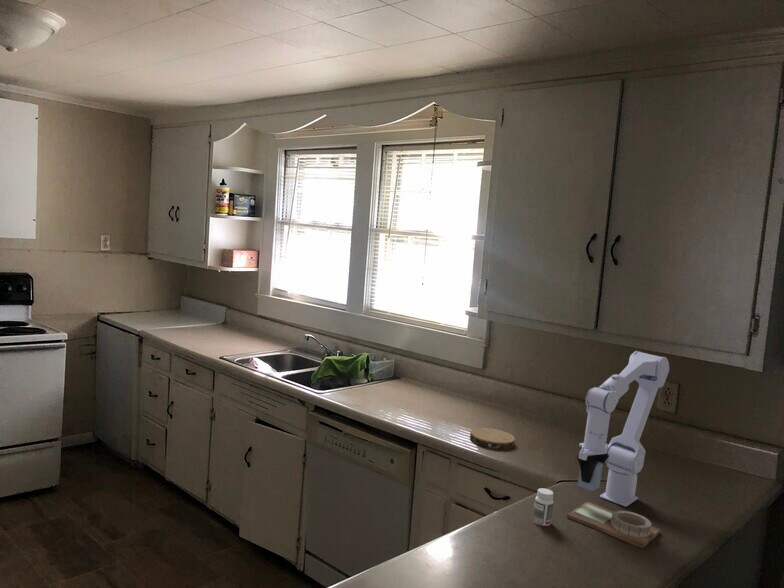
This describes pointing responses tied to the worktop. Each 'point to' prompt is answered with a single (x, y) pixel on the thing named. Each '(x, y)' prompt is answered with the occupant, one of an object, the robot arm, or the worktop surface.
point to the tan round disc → (492, 438)
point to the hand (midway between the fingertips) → (589, 479)
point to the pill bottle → (543, 507)
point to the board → (610, 529)
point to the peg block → (595, 479)
